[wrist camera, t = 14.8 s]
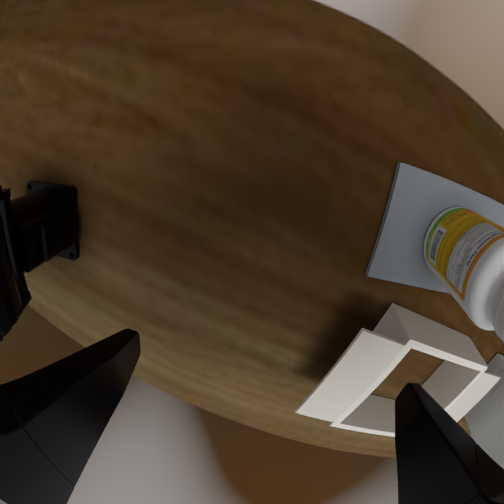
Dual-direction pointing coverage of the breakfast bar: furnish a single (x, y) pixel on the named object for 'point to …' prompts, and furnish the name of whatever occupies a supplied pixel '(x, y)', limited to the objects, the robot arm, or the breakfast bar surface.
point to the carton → (385, 360)
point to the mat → (419, 224)
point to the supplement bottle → (469, 264)
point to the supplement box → (490, 415)
